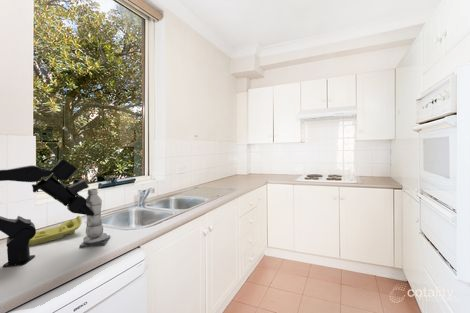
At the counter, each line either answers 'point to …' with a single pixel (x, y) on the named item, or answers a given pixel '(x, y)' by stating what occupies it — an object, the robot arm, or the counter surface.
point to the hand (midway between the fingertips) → (90, 212)
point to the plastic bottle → (94, 221)
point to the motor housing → (95, 241)
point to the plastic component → (56, 231)
